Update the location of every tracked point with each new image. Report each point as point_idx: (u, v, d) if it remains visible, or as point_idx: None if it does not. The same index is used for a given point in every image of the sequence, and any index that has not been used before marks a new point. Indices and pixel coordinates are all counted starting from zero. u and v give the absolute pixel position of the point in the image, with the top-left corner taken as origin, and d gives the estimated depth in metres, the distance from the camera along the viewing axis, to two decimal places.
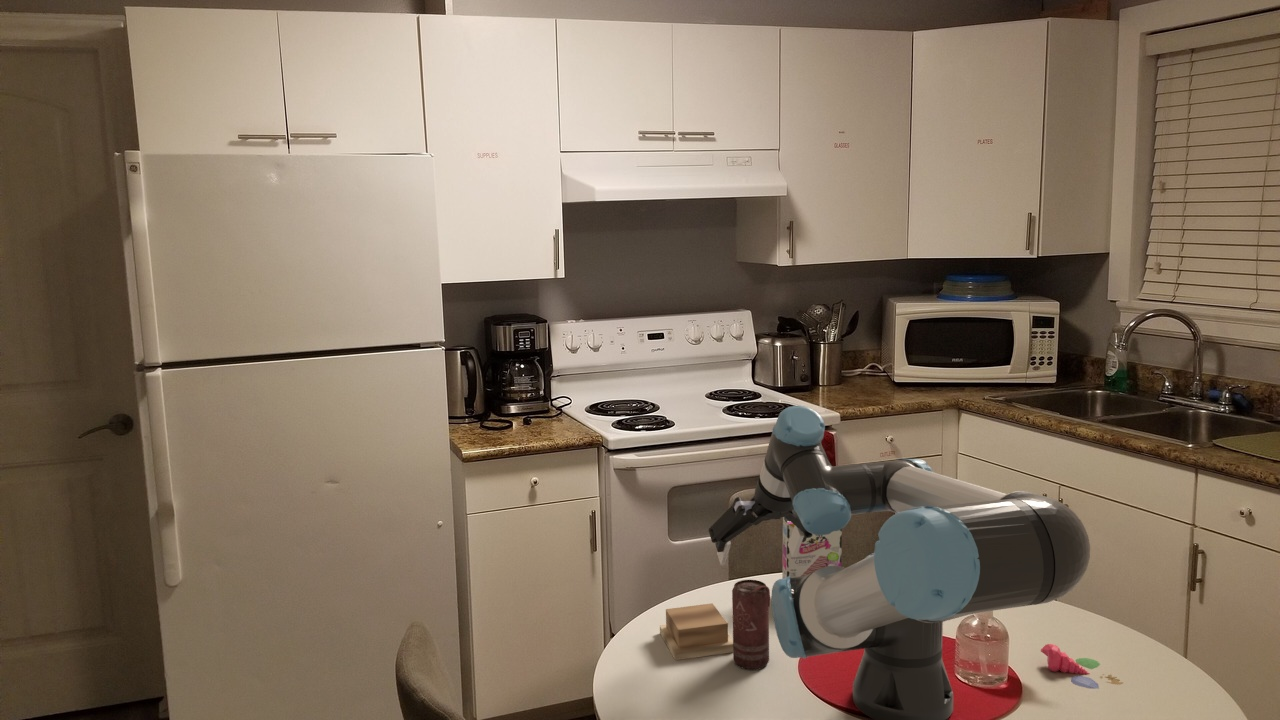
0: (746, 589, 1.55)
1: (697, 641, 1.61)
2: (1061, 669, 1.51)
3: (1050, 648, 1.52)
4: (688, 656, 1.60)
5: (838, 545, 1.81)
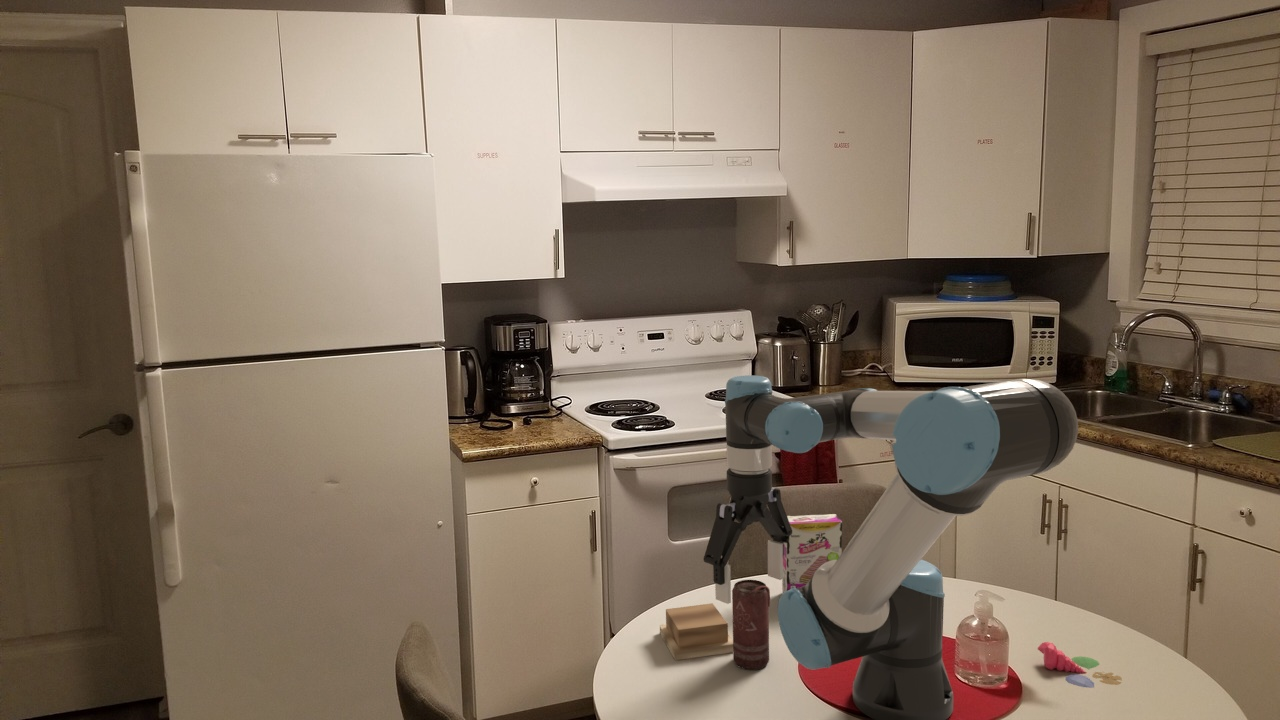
0: (746, 589, 1.55)
1: (697, 641, 1.61)
2: (1057, 667, 1.51)
3: (1046, 646, 1.52)
4: (688, 656, 1.60)
5: (838, 545, 1.81)
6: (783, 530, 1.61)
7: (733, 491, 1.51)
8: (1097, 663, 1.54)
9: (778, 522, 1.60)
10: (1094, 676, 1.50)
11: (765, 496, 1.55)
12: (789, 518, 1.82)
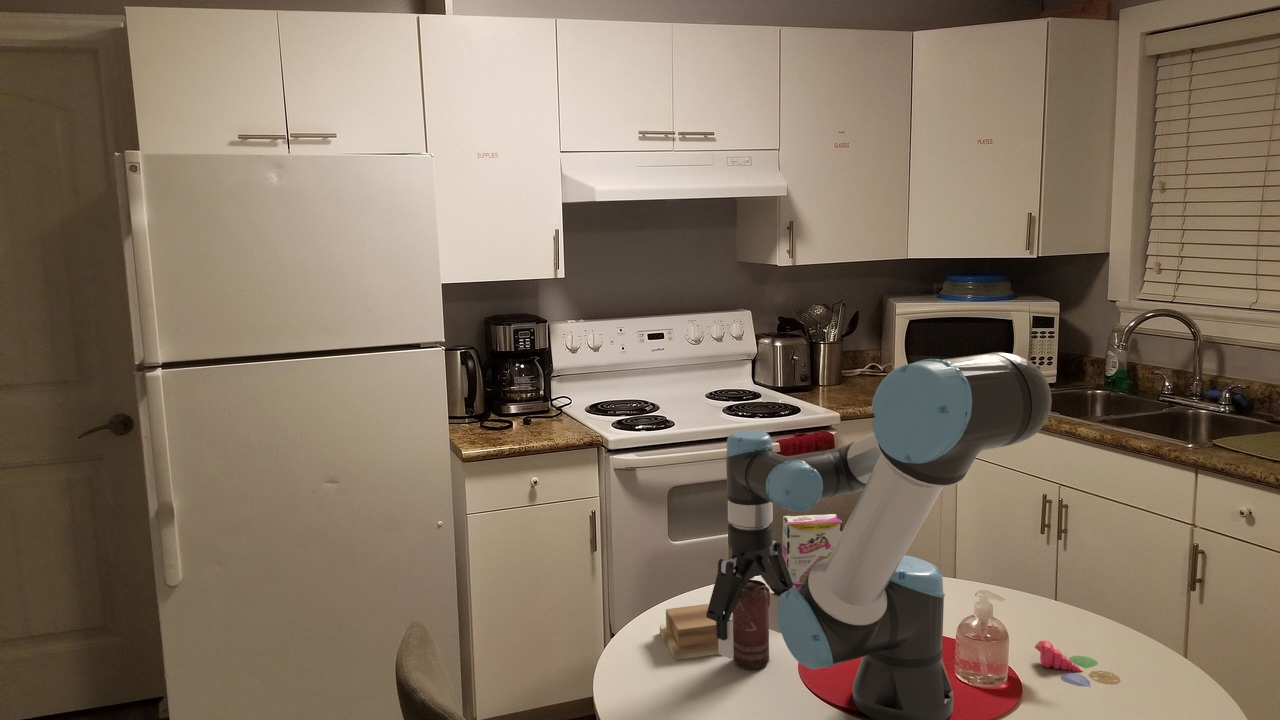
0: (746, 589, 1.55)
1: (697, 641, 1.61)
2: (1053, 665, 1.52)
3: (1043, 645, 1.53)
4: (688, 656, 1.60)
5: None
6: (784, 583, 1.62)
7: (734, 546, 1.52)
8: (1095, 662, 1.54)
9: (779, 575, 1.61)
10: (1090, 675, 1.50)
11: (766, 550, 1.56)
12: (789, 518, 1.82)
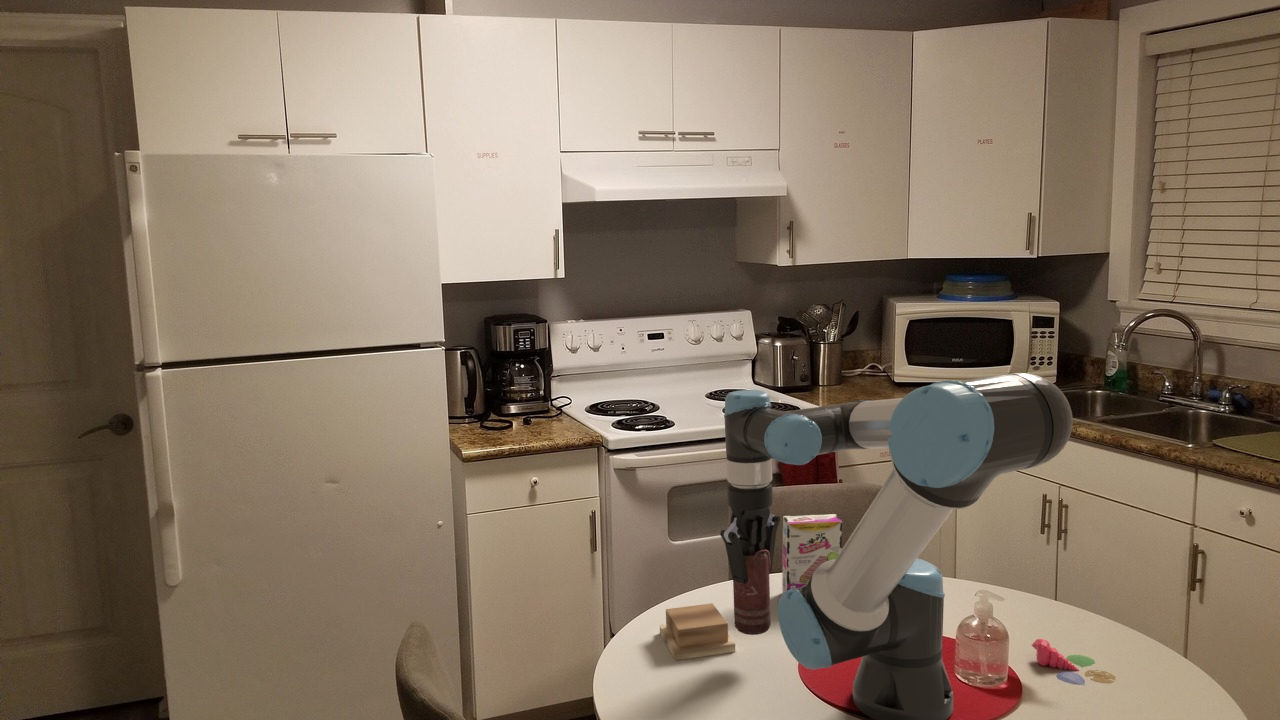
0: None
1: (697, 641, 1.61)
2: (1049, 664, 1.53)
3: (1039, 643, 1.54)
4: (688, 656, 1.60)
5: (838, 545, 1.81)
6: None
7: (734, 506, 1.51)
8: (1092, 662, 1.54)
9: None
10: (1086, 674, 1.50)
11: (766, 511, 1.55)
12: (789, 518, 1.82)
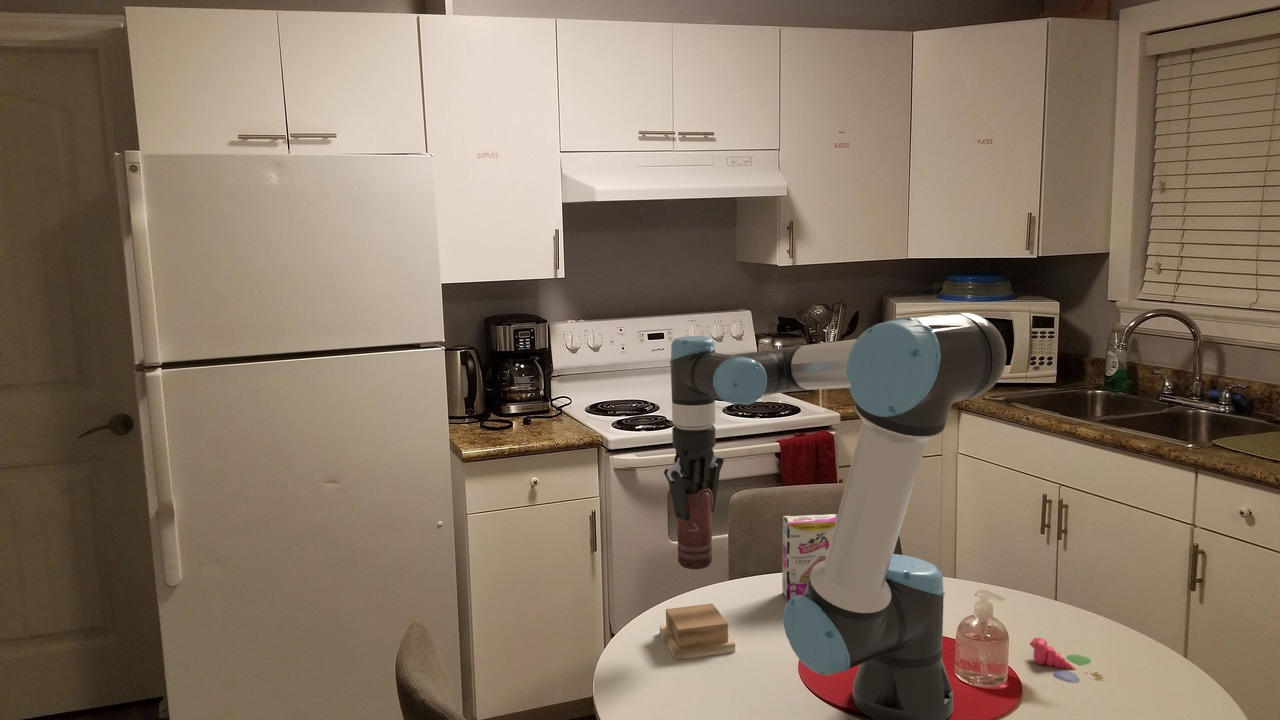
0: None
1: (697, 641, 1.61)
2: (1046, 662, 1.53)
3: (1036, 642, 1.54)
4: (688, 656, 1.60)
5: None
6: None
7: (678, 446, 1.58)
8: (1090, 661, 1.54)
9: None
10: None
11: (710, 452, 1.62)
12: (789, 518, 1.82)
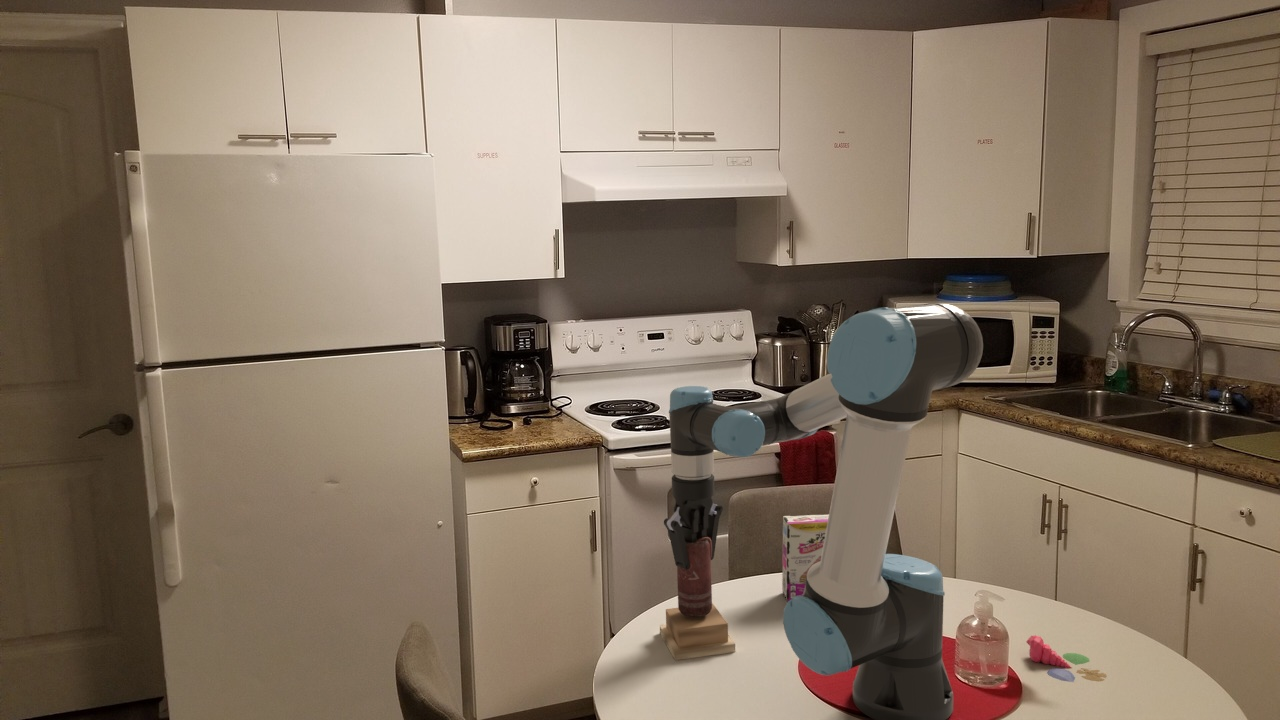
0: None
1: (697, 641, 1.61)
2: (1042, 660, 1.54)
3: (1032, 639, 1.55)
4: (688, 656, 1.60)
5: None
6: None
7: (677, 496, 1.60)
8: (1087, 660, 1.55)
9: None
10: (1078, 671, 1.51)
11: (709, 500, 1.63)
12: (789, 518, 1.82)
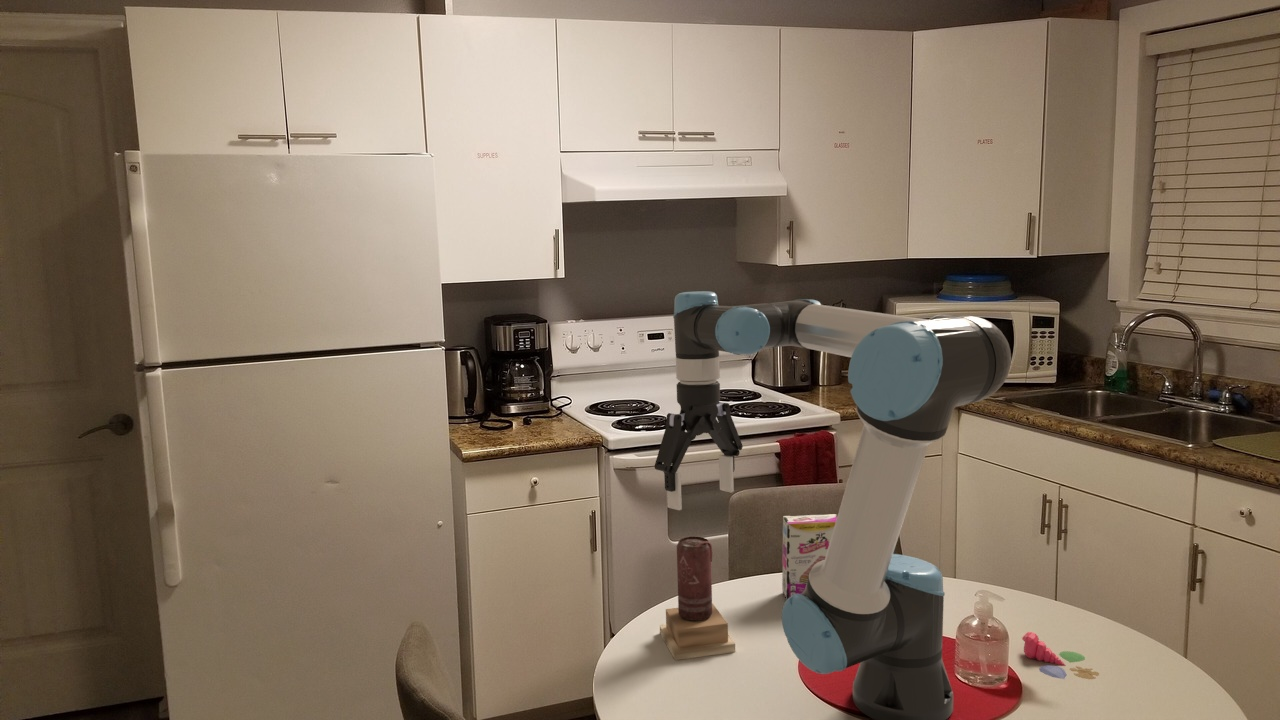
0: (689, 545, 1.63)
1: (697, 641, 1.61)
2: (1036, 657, 1.55)
3: (1027, 636, 1.57)
4: (688, 656, 1.60)
5: None
6: (733, 445, 1.66)
7: (682, 402, 1.57)
8: (1083, 659, 1.55)
9: (728, 437, 1.66)
10: (1071, 669, 1.52)
11: (714, 409, 1.61)
12: (789, 518, 1.82)
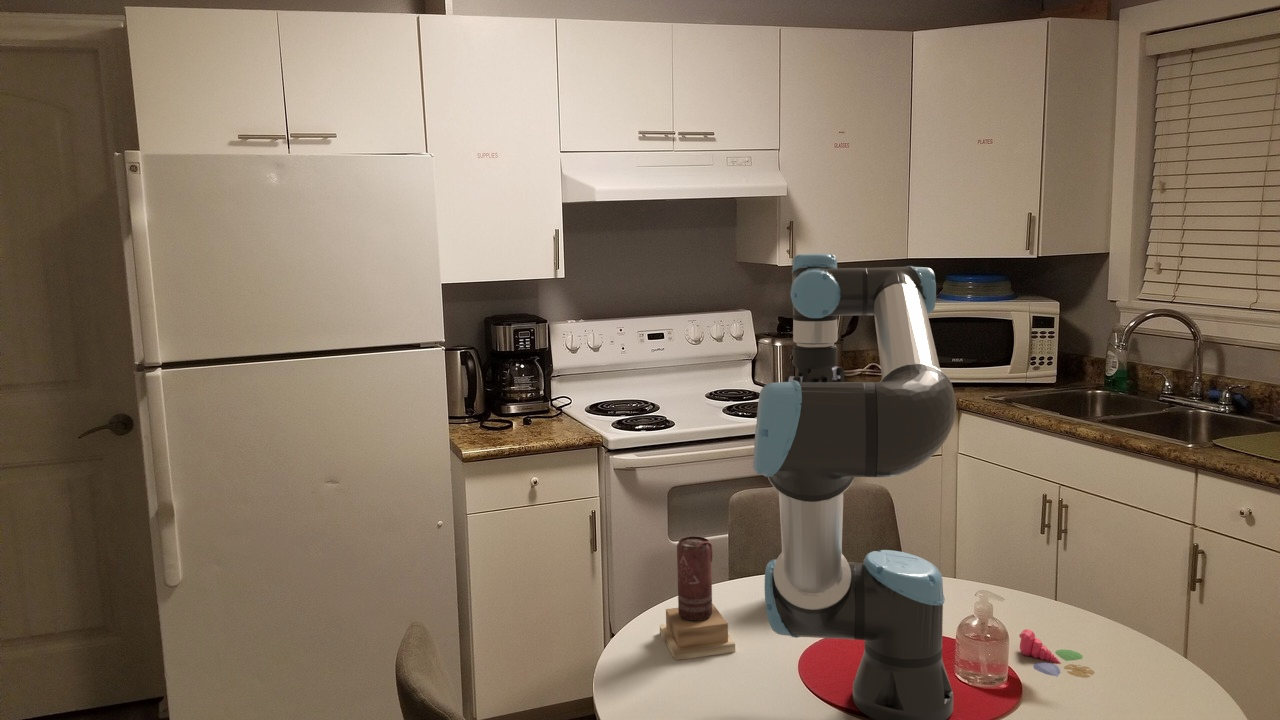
0: (690, 544, 1.63)
1: (697, 641, 1.61)
2: (1031, 654, 1.56)
3: (1023, 633, 1.58)
4: (688, 656, 1.60)
5: None
6: None
7: (800, 364, 1.56)
8: (1080, 657, 1.56)
9: None
10: (1066, 667, 1.53)
11: (830, 372, 1.60)
12: None
